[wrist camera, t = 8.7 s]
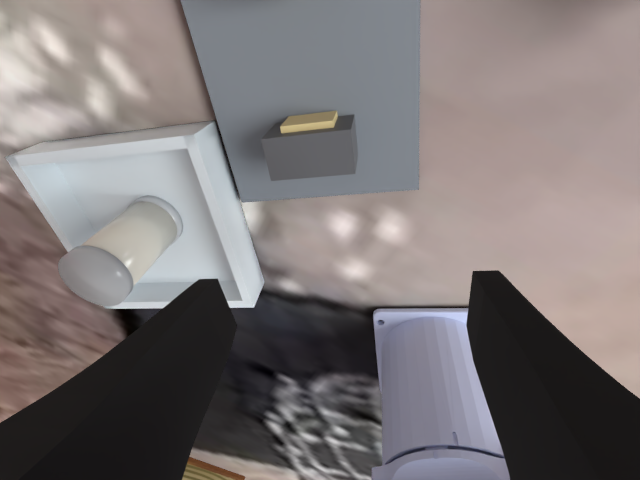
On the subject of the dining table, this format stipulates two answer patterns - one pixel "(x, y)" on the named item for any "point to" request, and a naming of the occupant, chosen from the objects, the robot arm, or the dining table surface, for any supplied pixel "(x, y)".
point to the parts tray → (155, 180)
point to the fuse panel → (313, 93)
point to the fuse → (121, 251)
